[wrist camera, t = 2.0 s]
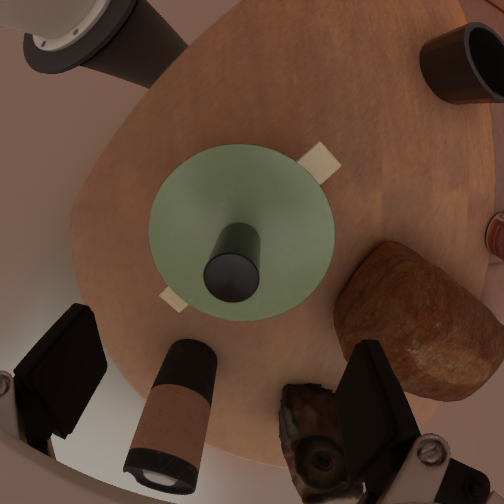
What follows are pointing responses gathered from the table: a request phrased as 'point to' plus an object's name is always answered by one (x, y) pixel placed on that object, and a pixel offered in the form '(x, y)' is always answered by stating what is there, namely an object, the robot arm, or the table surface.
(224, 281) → the lid
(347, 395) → the robot arm
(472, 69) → the cup
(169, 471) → the travel mug
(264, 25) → the table surface
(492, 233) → the pill bottle
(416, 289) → the bread
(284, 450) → the owl
